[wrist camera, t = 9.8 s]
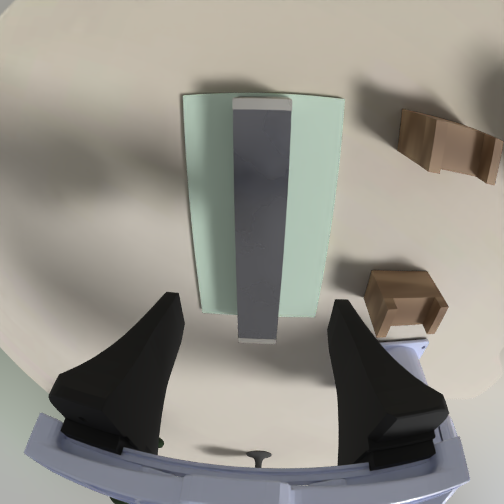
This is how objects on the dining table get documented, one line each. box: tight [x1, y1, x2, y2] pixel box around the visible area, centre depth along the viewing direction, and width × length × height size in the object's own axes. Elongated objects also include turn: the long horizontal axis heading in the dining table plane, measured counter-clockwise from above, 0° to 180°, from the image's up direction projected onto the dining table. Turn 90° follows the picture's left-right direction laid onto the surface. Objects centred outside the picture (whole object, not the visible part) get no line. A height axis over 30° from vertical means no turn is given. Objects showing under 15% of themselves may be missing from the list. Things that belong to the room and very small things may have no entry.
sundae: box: [246, 451, 271, 468], centre depth 42 cm, size 7×7×15 cm
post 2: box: [397, 109, 504, 185], centre depth 15 cm, size 3×6×5 cm, turn 90°
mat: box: [183, 93, 345, 317], centre depth 21 cm, size 18×10×1 cm, turn 0°
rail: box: [232, 96, 292, 344], centre depth 20 cm, size 18×3×3 cm, turn 0°
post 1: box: [364, 270, 448, 338], centre depth 22 cm, size 3×6×5 cm, turn 89°
